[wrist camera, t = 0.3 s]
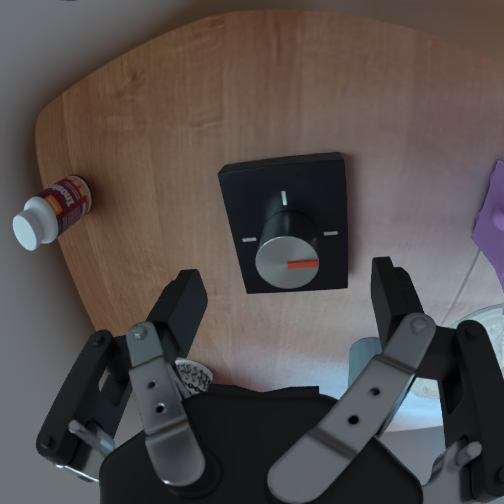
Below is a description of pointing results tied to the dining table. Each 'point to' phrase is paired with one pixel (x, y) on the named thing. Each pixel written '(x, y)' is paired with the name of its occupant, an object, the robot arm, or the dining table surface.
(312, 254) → the hob knob
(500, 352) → the ceiling medallion
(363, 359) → the cup
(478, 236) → the teapot
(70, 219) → the pill bottle
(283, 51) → the dining table surface
